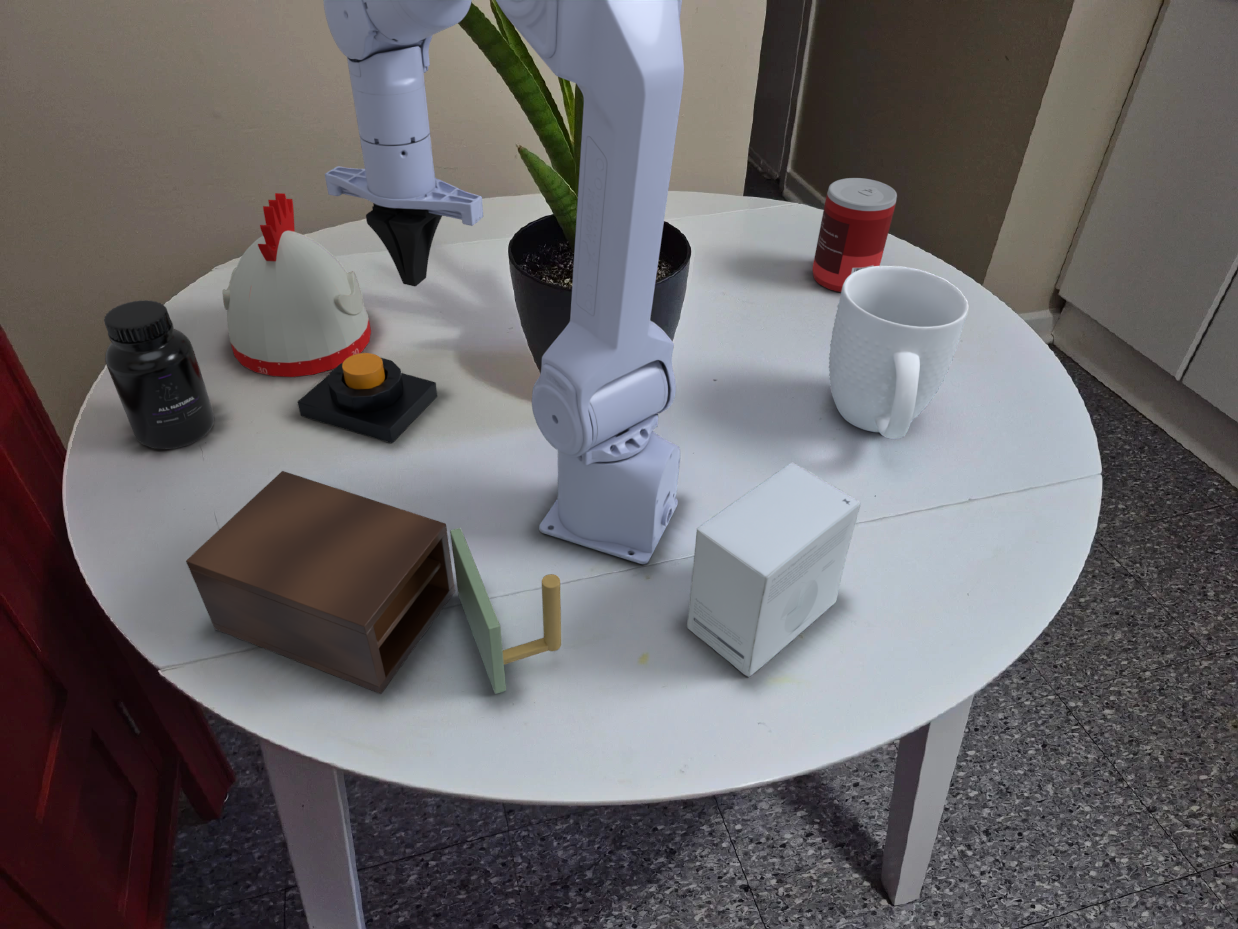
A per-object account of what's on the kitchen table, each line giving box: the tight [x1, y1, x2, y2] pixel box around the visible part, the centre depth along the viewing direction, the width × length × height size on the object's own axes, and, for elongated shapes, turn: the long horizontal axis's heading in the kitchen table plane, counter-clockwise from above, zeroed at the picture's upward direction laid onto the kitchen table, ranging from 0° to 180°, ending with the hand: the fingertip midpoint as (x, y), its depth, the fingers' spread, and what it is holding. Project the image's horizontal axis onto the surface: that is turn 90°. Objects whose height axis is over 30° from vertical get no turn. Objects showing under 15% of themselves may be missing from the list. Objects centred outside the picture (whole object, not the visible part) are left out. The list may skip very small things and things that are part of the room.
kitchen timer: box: [221, 192, 372, 378], centre depth 86 cm, size 14×14×15 cm
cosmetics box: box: [686, 461, 862, 678], centre depth 62 cm, size 10×6×10 cm, turn 133°
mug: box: [828, 265, 970, 440], centre depth 79 cm, size 15×11×13 cm
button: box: [342, 352, 385, 389], centre depth 80 cm, size 4×4×2 cm
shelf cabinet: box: [185, 470, 456, 695], centre depth 62 cm, size 14×10×7 cm
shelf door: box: [449, 527, 562, 695], centre depth 60 cm, size 5×9×8 cm, turn 23°
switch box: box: [296, 356, 438, 444], centre depth 82 cm, size 10×8×4 cm
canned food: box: [812, 177, 898, 293], centre depth 102 cm, size 8×8×11 cm
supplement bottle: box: [103, 299, 215, 450], centre depth 76 cm, size 7×7×12 cm
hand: (414, 280), depth 81 cm, fingers closed
